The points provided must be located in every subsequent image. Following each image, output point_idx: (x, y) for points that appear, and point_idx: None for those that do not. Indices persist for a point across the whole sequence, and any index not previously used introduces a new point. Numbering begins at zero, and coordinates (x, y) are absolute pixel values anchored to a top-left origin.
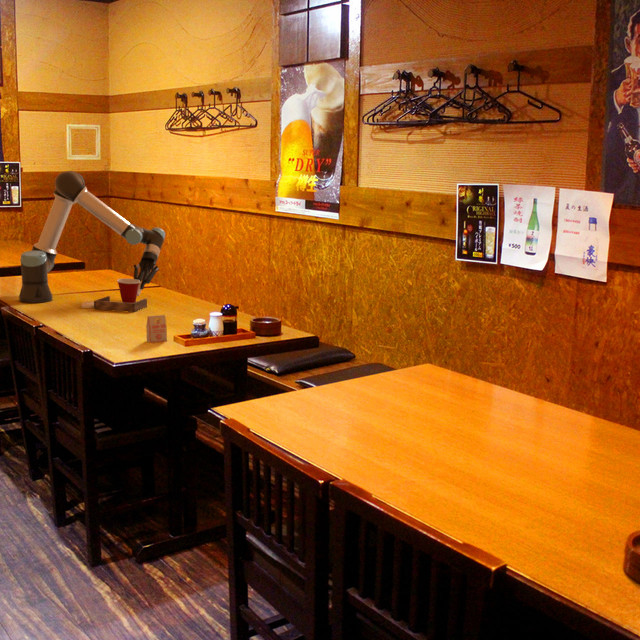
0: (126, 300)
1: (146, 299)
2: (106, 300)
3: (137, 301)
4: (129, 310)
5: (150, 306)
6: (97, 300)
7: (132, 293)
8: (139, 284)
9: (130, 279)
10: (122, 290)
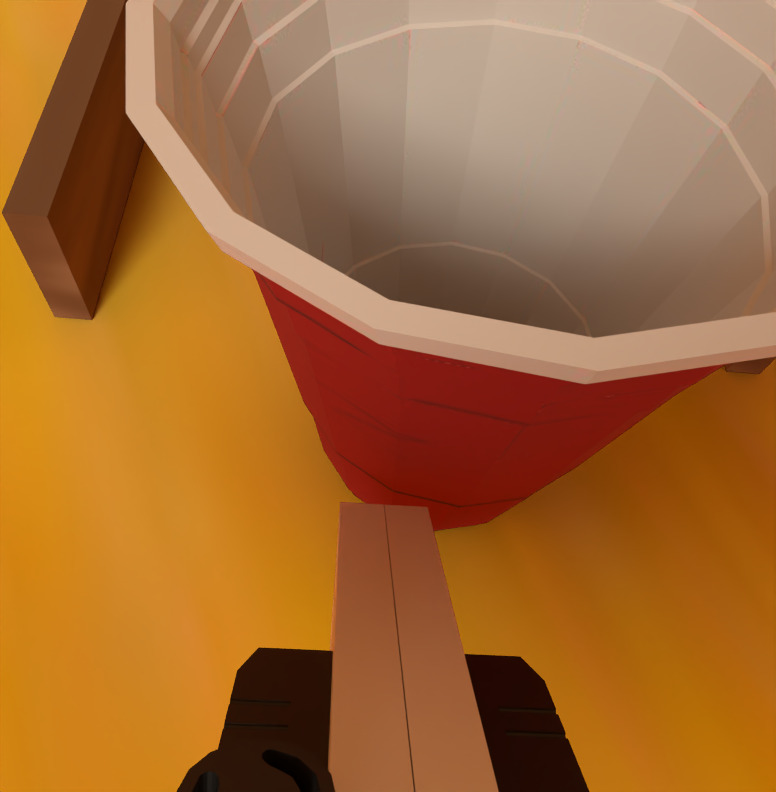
0: (433, 267)
1: (10, 210)
2: None
3: (117, 9)
4: None
5: (3, 380)
6: None
7: (324, 182)
8: (373, 680)
9: (711, 322)
10: (539, 93)
